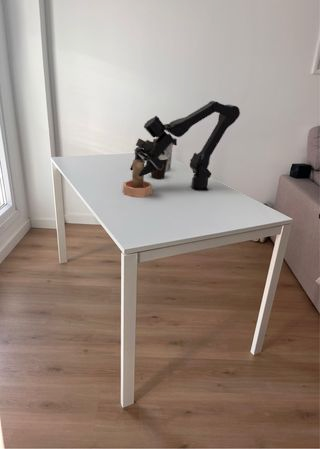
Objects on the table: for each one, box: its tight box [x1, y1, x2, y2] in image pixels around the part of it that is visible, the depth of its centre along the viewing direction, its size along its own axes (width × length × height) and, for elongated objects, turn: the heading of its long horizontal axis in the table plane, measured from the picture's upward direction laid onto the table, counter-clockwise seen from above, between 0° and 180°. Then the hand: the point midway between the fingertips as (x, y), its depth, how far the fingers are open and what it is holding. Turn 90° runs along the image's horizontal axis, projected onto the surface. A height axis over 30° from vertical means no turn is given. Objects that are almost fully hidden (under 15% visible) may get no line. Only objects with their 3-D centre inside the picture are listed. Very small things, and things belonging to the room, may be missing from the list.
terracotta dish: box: [122, 179, 153, 198], centre depth 138 cm, size 12×12×4 cm
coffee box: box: [152, 137, 174, 173], centre depth 171 cm, size 9×6×16 cm
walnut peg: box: [131, 159, 146, 188], centre depth 136 cm, size 5×5×13 cm
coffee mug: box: [150, 156, 168, 180], centre depth 160 cm, size 12×9×10 cm
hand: (134, 172), depth 134 cm, fingers open, 9 cm apart
